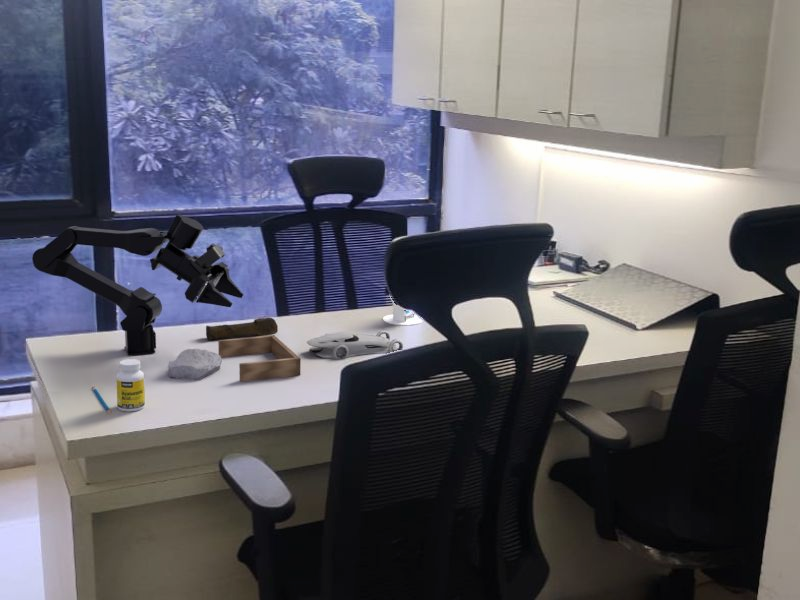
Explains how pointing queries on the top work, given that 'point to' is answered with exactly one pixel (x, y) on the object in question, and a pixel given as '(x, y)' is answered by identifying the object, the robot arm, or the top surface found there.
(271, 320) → the brown wooden log
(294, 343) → the top surface
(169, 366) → the stone block
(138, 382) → the supplement bottle
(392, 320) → the white upright piece
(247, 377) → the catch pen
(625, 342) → the top surface
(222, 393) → the top surface
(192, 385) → the top surface
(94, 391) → the pencil
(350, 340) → the car model
